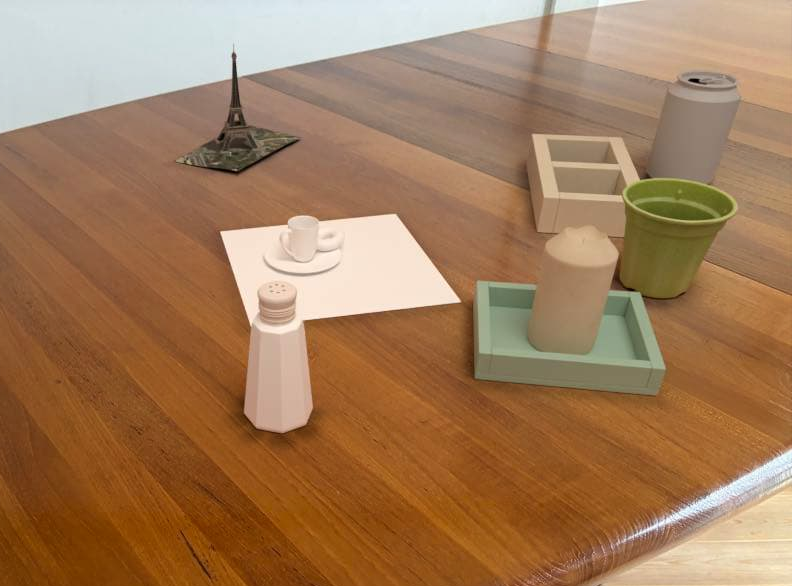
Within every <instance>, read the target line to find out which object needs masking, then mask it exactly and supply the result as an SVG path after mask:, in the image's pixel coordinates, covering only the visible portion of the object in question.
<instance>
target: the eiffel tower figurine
mask: <svg viewBox="0 0 792 586" xmlns="http://www.w3.org/2000/svg"><path fill="white" fill-rule="evenodd" d="M232 45H233V46H232V48H233V49H232V53H231V55H230V57H231V60H232V61H231V63H232V64H231V66H232V67H231V95H230V96H231V97H230V98H231V99H230V104H229V105H228V107H229V111H228V115H227V119H226V120H225V121H224V126H223V128H222V129H221V131H220V132H219V134H218V136H217V137H215V138H214V139H212V140H210V141H208V142H206V143H204V144H202V145H200V146H198V147H197V148H195V149H193V150H191V151H190V152H189V153H186V154H185V155H183V156H181V157H179V158H178V159H176V160H174V162H176V163H179V164H180V163H181V164H186V165H192V166H197V167H205V168H214V169H222V170H223V169H224V170H229V171H235V172H238V171H241V170H242V169H244V168H246V167H248V166H250V165H253V164H254V163H255V162H257V161H260V160H261V159H263V158H264V157H266V156H268V155H269V154H272V153H274V152H275V151H277V150H279V149H281V148H283V147H284V146H287V145H289V144H291V143H293V142H295V141H298V140H299V139H301V138H302V137H301V136H297V135H293V134H288V133H284V132H280V131H275V130H272V129H267V128H262V127H260V126H259V127H258V126H254V125H250V124H248V122H247V120H246V119H245V117H244V113H243V106H242V103H241V98H240V97H241V96H240V89H239V81H238V80H239V79H238V70H237V53H236V52H235V43H233V44H232ZM236 115H237V117H238V119H236V118H235V117H236ZM235 119H236V120H235Z"/></svg>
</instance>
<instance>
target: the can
mask: <svg viewBox="0 0 792 586" xmlns="http://www.w3.org/2000/svg"><path fill="white" fill-rule="evenodd" d="M676 77H677V78H676V79H677V81H675V82H674V83H672V84H671V85H670V86H668V87H667V90H666V94H665V97H664V101H663V104H662V108H661V112H660V115H659V119H658V122H657V127H656V130H655V133H654V137H653V141H652V145H651V148H650V150H649V155H648V159H647V162H646V166H645V173H646V174H647V175H648V176H649V178H650V179H653V178H674V179H683V180H690V181H695V182H699V183H703V184H706V185H710V184H711V183H712V182H713V181H714V180H715V178H716V175H717V172H718V169H719V165H720V162H721V159H722V156H723V154H724V150H725V148H726V145H727V141H728V139H729V136H730V133H731V130H732V126H733V123H734V120H735V118H736V115H737V111H738V108H739V105H740V102H741V99H742V94H741V91H740V90H739V88H738V85H739V84H740V79H739V78H738V77H736V76H734V75H732V74H730V73H726V72H722V71H716V70H707V69H705V70H704V69H702V70H701V69H693V70H685V71H683V72H680V73H678V74H677V75H676Z"/></svg>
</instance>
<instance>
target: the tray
mask: <svg viewBox="0 0 792 586" xmlns="http://www.w3.org/2000/svg"><path fill="white" fill-rule="evenodd" d="M536 288H537V284H531V283H519V282H517V283H516V282H504V281H503V282H502V281H492V280H491V281H489V280H477V279H476V283H475V290H474V297H473V302H472V303H473V304H472V306H473V307H472V316H473V317H472V319H473V320H472V321H473V366H474V367H473V369H474V370H473V371H474V372H473V373H474V376H473V377H474V380H481V381H492V382H502V383H512V384H513V383H514V384H525V385H533V386H534V385H535V386H545V387H557V388H566V389H568V388H569V389H578V390H588V391H600V392H601V391H602V392H609V393H621V394H630V395H631V394H633V395H642V396H652V397H653V396H654V397H658V396H659V395H658V394H659V391H660V389H661V386H662V383H663V380H664V377H665V375H666V371H667V368H666V365H665V361H664V359H663V355H662V352H661V350H660V347H659V344H658V340H657V338H656V335H655V332H654V329H653V326H652V324H651V320H650V317H649V315H648V311H647V308H646V304H645V302H644V299H643V297H642V296H643V295H641V293H640V292H637V291H631V290H630V291H629V290H616V289H615V290H614V289H610V290H609V293H608V297H607V301H606V304H605V308H604V312H603V316H602V319H601V323H600V327H599V330H598V334H597V338H596V341H595V344H594V346H593V348H592V350H591V351H590V352H589V353H587V354H585V355H574V354H563V353H551V352H542V351H540V350H538V349H537V348H535V347H534V346H533V345H532V344H531V343H530V342H529V340H528V327H529V321H530V317H531V312H532V307H533V302H534V297H535V293H536Z"/></svg>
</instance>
